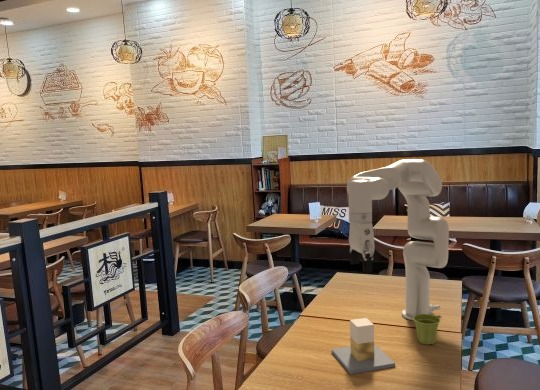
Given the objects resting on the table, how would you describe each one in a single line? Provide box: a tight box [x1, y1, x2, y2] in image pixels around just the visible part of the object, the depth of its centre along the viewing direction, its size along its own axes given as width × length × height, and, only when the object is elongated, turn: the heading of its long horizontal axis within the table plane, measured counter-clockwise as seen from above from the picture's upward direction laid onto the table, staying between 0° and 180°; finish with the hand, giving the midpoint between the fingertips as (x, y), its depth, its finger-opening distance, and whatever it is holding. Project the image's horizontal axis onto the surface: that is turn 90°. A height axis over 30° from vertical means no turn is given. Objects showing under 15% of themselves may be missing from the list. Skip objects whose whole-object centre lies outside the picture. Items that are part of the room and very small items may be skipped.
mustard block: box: [349, 336, 375, 361], centre depth 158 cm, size 6×6×6 cm
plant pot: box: [412, 314, 441, 345], centre depth 170 cm, size 9×9×9 cm
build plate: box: [331, 343, 396, 375], centre depth 159 cm, size 16×16×1 cm
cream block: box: [349, 317, 375, 344], centre depth 158 cm, size 6×6×6 cm
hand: (361, 267), depth 155 cm, fingers open, 9 cm apart
